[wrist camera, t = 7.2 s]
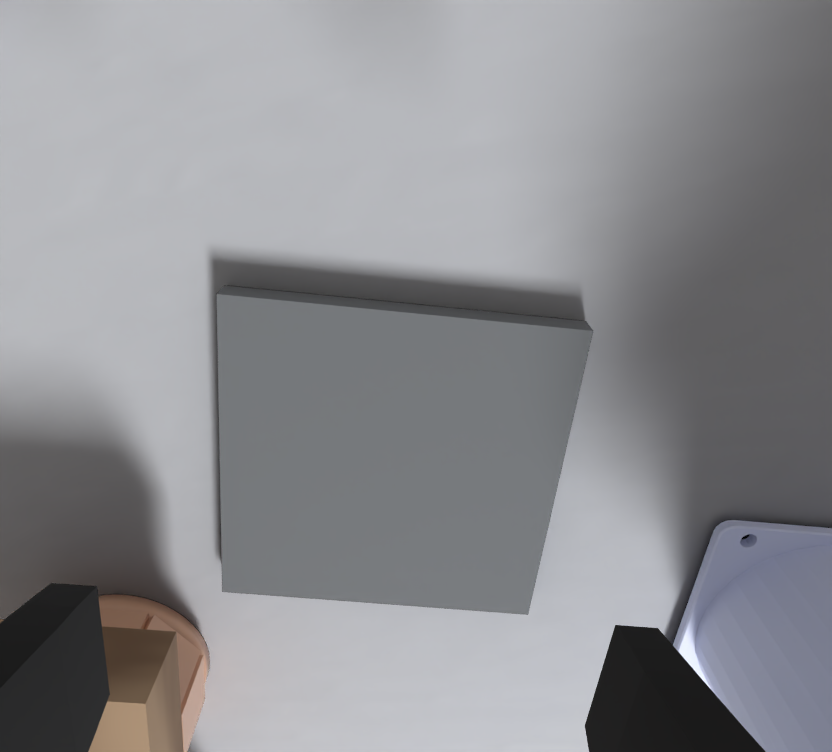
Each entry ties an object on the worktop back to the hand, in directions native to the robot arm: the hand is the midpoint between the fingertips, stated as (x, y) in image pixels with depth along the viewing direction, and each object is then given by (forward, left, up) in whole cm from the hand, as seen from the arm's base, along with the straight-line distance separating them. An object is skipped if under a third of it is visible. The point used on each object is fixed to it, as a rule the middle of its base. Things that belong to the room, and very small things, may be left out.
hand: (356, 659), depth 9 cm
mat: (0, +3, -10) cm, 11 cm away
